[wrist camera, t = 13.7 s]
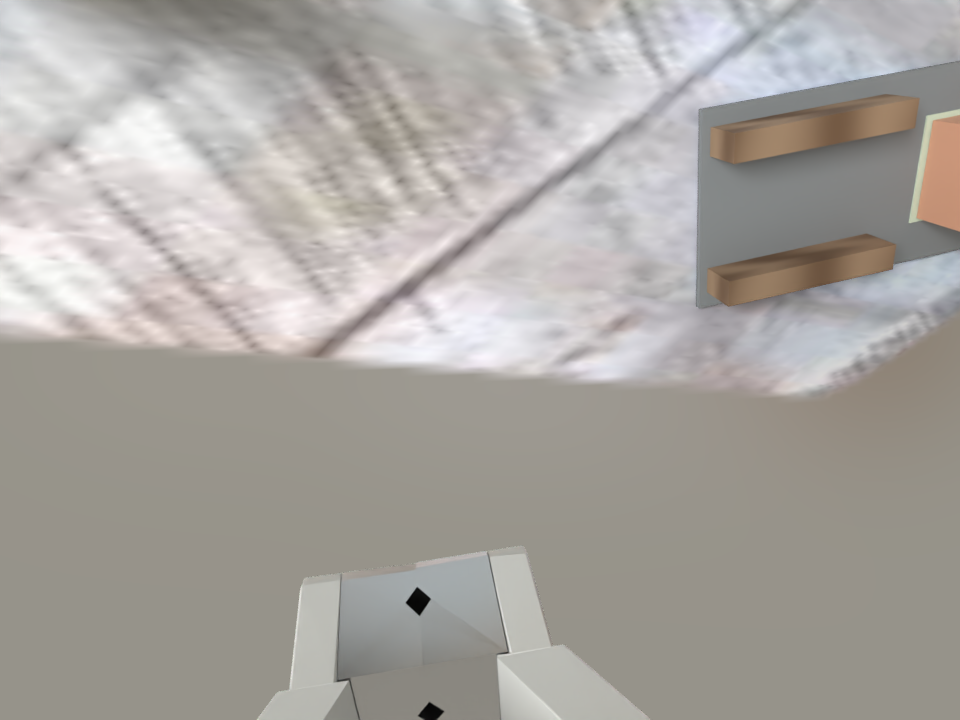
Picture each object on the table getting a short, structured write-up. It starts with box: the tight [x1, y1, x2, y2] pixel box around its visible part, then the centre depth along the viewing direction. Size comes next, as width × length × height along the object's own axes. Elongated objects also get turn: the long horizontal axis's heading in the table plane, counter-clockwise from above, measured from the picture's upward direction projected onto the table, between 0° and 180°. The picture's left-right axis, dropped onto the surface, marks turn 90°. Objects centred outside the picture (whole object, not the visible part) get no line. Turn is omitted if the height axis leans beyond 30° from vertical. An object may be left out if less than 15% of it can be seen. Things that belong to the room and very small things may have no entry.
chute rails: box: [707, 94, 920, 307], centre depth 39 cm, size 11×10×2 cm
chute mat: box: [696, 61, 960, 308], centre depth 41 cm, size 20×12×1 cm, turn 98°
